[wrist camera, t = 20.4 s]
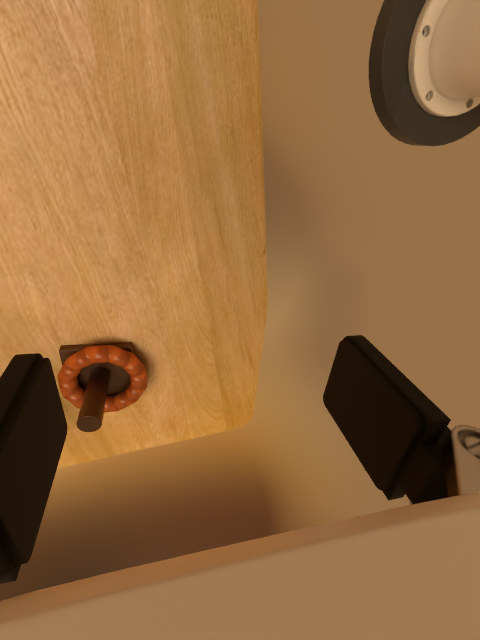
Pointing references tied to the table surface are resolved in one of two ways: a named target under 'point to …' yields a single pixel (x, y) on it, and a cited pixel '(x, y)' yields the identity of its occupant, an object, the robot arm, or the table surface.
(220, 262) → the table surface
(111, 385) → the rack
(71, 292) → the table surface
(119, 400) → the ring
